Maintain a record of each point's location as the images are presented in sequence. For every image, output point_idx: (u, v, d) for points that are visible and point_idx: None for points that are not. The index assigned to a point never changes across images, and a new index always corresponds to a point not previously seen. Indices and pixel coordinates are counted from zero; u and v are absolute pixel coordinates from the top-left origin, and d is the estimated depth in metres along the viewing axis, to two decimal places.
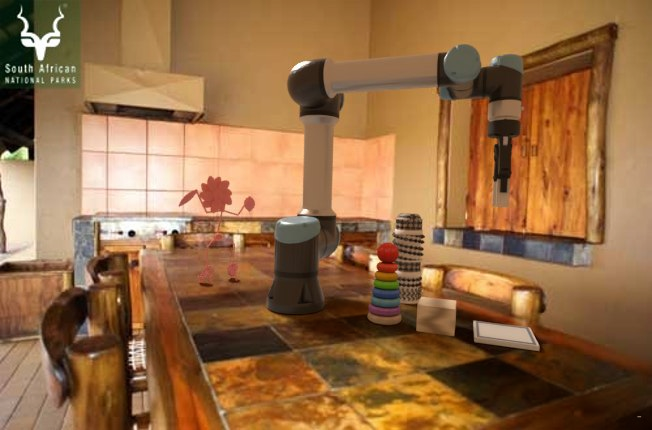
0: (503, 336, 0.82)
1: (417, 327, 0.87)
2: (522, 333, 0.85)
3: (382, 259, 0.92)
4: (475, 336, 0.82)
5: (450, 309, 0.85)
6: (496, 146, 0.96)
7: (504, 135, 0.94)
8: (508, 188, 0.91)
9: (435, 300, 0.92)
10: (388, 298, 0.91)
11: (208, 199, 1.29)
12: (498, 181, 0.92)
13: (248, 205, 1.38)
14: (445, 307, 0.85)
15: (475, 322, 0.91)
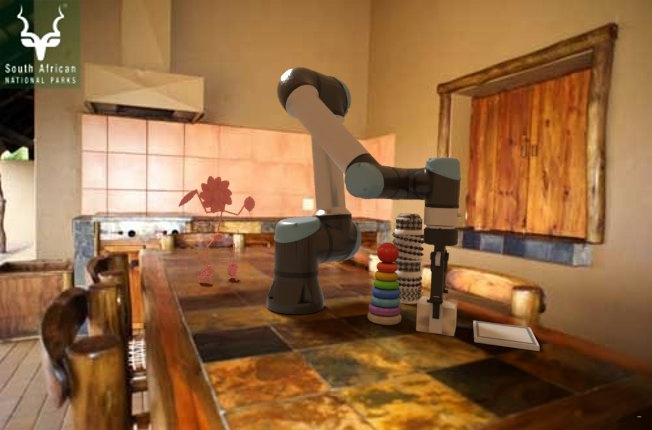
0: (503, 336, 0.82)
1: (417, 326, 0.88)
2: (522, 333, 0.85)
3: (382, 259, 0.92)
4: (475, 336, 0.82)
5: (450, 308, 0.85)
6: None
7: (438, 247, 0.86)
8: (441, 313, 0.85)
9: None
10: (388, 298, 0.91)
11: (208, 199, 1.29)
12: (431, 305, 0.85)
13: (248, 205, 1.38)
14: (445, 307, 0.85)
15: (475, 322, 0.91)
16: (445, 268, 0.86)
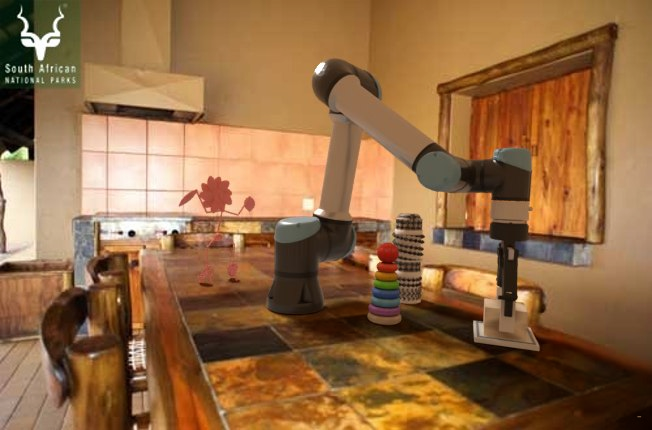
0: None
1: (485, 330, 0.83)
2: None
3: (382, 259, 0.92)
4: (475, 336, 0.82)
5: (522, 312, 0.80)
6: (500, 253, 0.83)
7: (509, 242, 0.81)
8: (514, 311, 0.79)
9: None
10: (388, 298, 0.91)
11: (208, 199, 1.29)
12: (502, 302, 0.79)
13: (248, 205, 1.38)
14: (516, 310, 0.81)
15: (475, 322, 0.91)
16: None
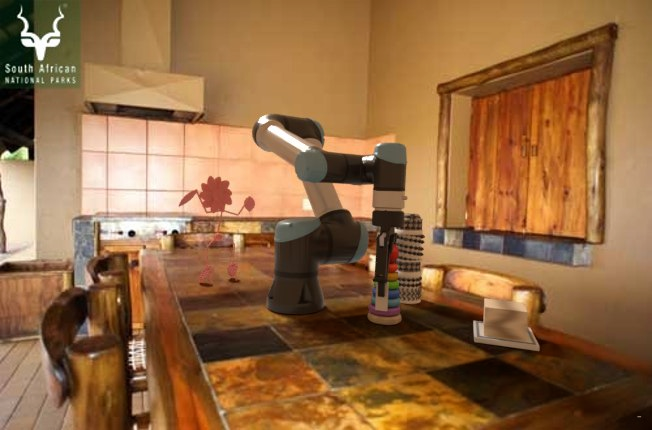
0: None
1: (485, 330, 0.83)
2: None
3: None
4: (475, 336, 0.82)
5: (522, 312, 0.80)
6: None
7: (384, 228, 0.89)
8: (386, 292, 0.89)
9: (501, 302, 0.87)
10: (388, 298, 0.91)
11: (208, 199, 1.29)
12: (377, 284, 0.90)
13: (248, 205, 1.38)
14: (516, 310, 0.81)
15: (475, 322, 0.91)
16: (391, 249, 0.90)
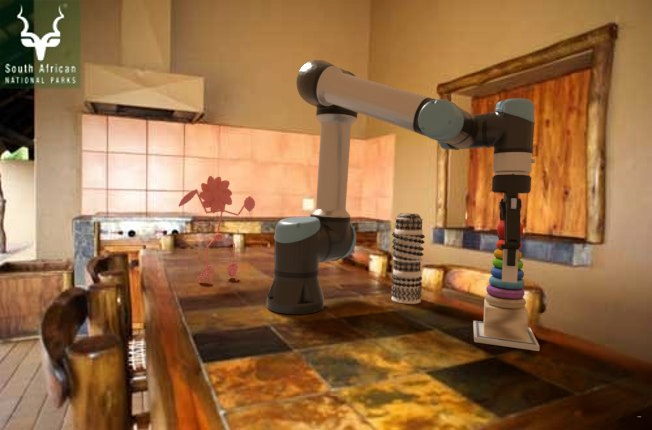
0: None
1: (485, 330, 0.83)
2: None
3: None
4: (475, 336, 0.82)
5: (522, 312, 0.80)
6: (502, 205, 0.82)
7: (512, 193, 0.80)
8: (516, 260, 0.78)
9: None
10: None
11: (208, 199, 1.29)
12: (505, 252, 0.79)
13: (248, 205, 1.38)
14: (516, 310, 0.81)
15: (475, 322, 0.91)
16: None
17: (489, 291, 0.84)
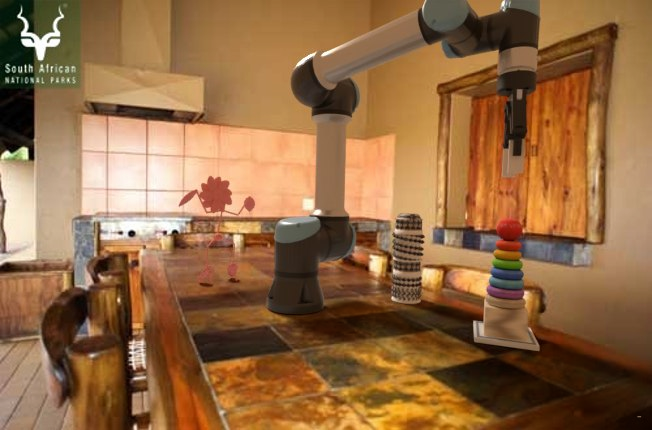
0: None
1: (485, 330, 0.83)
2: None
3: (505, 236, 0.83)
4: (475, 336, 0.82)
5: (522, 312, 0.80)
6: (508, 103, 0.81)
7: (517, 89, 0.79)
8: (523, 151, 0.76)
9: None
10: (514, 279, 0.82)
11: (208, 199, 1.29)
12: (511, 142, 0.77)
13: (248, 205, 1.38)
14: (516, 310, 0.81)
15: (475, 322, 0.91)
16: None
17: (489, 291, 0.84)
